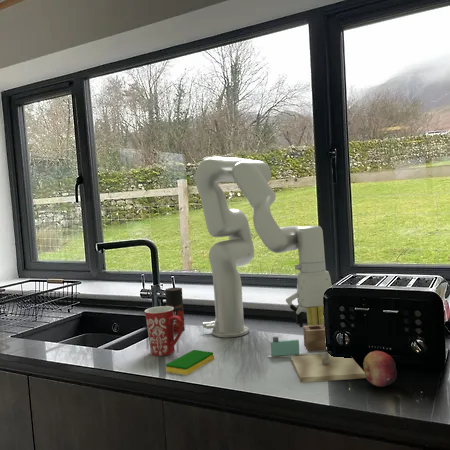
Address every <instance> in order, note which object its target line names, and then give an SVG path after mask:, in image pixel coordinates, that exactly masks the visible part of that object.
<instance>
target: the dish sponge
mask: <svg viewBox="0 0 450 450" xmlns="http://www.w3.org/2000/svg"><path fill="white" fill-rule="evenodd" d="M213 360H215V356H214V351H213V352H212V351H206V350H200V349H193V350H190V351H189V352H187V353H185V354H183V355H182V356H179V357H177V358H176V359H173V360H172V361H170V362H168V363H166V364H165V370H166V373H173V374H177V375H184V376H187V375H189V374H191V373H193V372H195V371H196V370H198V369H199V368H201V367H203V366H205V365H206V364H208V363H209V362H211V361H213Z"/></svg>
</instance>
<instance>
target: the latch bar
mask: <svg viewBox="0 0 450 450" xmlns="http://www.w3.org/2000/svg"><path fill="white" fill-rule="evenodd" d="M269 342H270V356H280V355H295V354H300V341H299V339H284V340H279V336H273V337H272V340H270V341H269Z"/></svg>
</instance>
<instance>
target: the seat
mask: <svg viewBox="0 0 450 450" xmlns="http://www.w3.org/2000/svg"><path fill="white" fill-rule="evenodd" d="M328 352H329V351H322V352H321V351H316V352H306V353H305V352H303V353H299V354H295V355H280V356H271V355H267V359H274V358H275V359H276V358H289V357H290V361H291V364H292V366H293V368H294V370H295V373H296V375H297V378H298V379H299V382H300V383H313V382H327V381H343V380H345V381H346V380H358V379H367V378H366V376H365V373H364V369H363V368H362V367H361V366H360V365H359V364H358V363H357V362H356V360H355V359H354V358H353V357H352V358H344V357H333V356H331V355H330V354H329V353H328Z"/></svg>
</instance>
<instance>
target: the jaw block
mask: <svg viewBox="0 0 450 450" xmlns="http://www.w3.org/2000/svg"><path fill="white" fill-rule="evenodd" d="M302 328H303V329H302V331H303V346H304V347H306V348H305V349H306V351H307V352H321V351H322V352H323V351H327V350H326V343H325V327H324V325H309V326H308V325H303V327H302Z"/></svg>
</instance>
